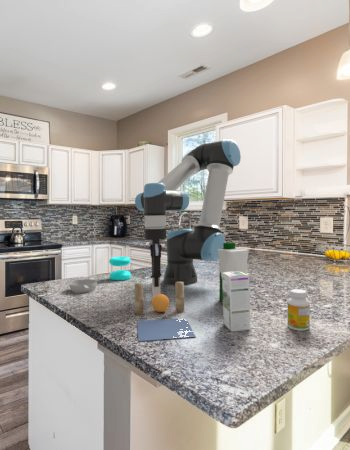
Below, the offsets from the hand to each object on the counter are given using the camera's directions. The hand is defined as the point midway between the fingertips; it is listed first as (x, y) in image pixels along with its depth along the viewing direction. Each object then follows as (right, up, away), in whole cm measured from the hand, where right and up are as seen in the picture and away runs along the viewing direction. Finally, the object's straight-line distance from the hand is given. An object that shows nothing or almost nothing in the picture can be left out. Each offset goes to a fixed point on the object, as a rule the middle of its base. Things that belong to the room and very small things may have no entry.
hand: (156, 295), depth 109 cm
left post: (-4, -3, -14) cm, 15 cm away
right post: (+8, -2, -12) cm, 15 cm away
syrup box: (+23, -3, -26) cm, 35 cm away
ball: (+2, 0, -12) cm, 13 cm away
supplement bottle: (+39, -3, -27) cm, 47 cm away
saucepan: (-29, -2, +13) cm, 32 cm away
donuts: (-19, -1, +38) cm, 42 cm away
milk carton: (+27, -2, -2) cm, 27 cm away
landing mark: (+4, -3, -27) cm, 27 cm away
